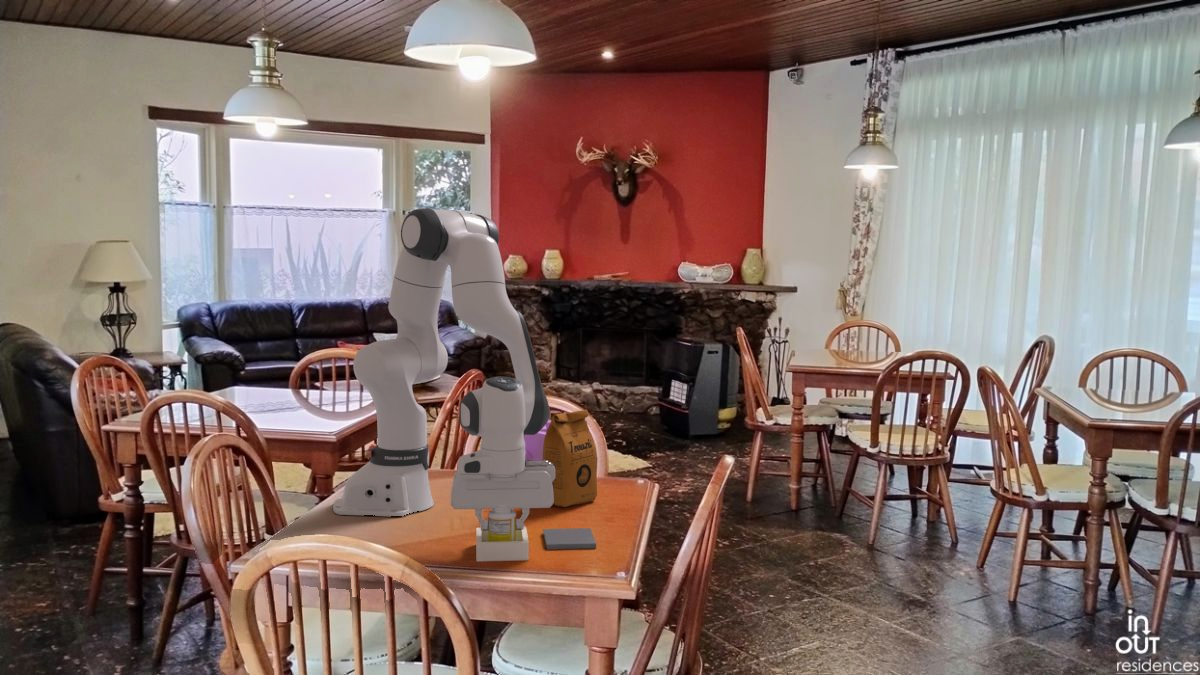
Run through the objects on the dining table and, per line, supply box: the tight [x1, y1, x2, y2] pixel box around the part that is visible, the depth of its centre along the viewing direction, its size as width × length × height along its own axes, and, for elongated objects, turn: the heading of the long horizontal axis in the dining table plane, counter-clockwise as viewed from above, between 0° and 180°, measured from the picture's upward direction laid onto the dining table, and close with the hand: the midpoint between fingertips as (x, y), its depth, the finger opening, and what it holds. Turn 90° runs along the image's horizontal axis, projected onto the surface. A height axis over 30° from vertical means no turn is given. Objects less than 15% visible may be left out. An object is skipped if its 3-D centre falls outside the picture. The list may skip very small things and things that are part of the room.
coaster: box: [542, 527, 597, 550], centre depth 186 cm, size 10×10×1 cm
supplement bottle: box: [487, 504, 517, 542], centre depth 178 cm, size 6×6×10 cm
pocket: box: [475, 526, 530, 562], centre depth 178 cm, size 10×10×4 cm
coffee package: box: [543, 409, 598, 508], centre depth 213 cm, size 10×12×22 cm
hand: (501, 529), depth 178 cm, fingers closed on supplement bottle, 6 cm apart
